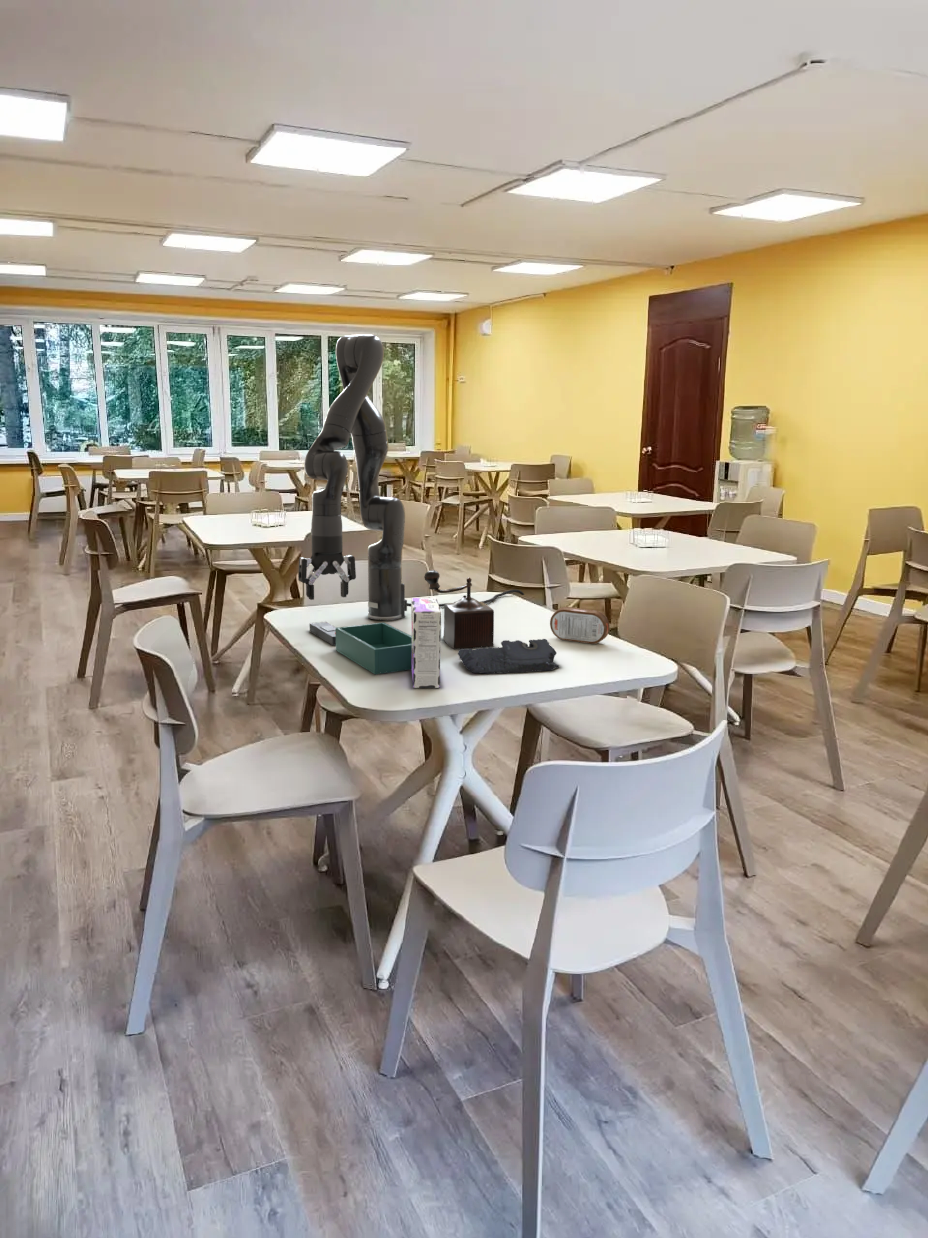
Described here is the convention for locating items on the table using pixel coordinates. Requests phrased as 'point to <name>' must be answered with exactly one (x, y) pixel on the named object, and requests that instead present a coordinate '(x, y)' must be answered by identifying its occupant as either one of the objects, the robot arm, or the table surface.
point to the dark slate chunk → (510, 657)
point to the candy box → (425, 642)
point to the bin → (376, 647)
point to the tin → (579, 625)
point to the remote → (324, 631)
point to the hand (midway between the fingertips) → (327, 598)
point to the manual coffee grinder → (465, 618)
